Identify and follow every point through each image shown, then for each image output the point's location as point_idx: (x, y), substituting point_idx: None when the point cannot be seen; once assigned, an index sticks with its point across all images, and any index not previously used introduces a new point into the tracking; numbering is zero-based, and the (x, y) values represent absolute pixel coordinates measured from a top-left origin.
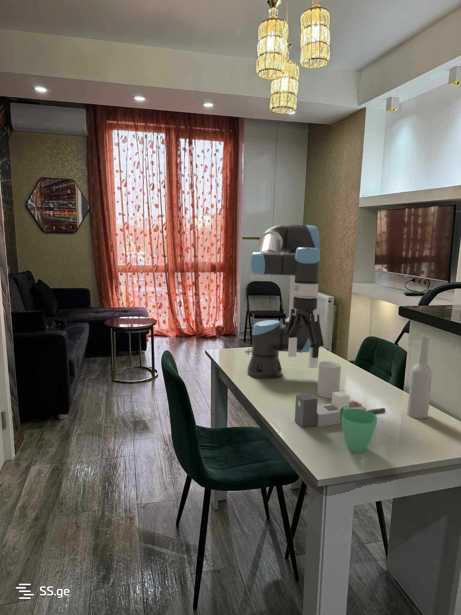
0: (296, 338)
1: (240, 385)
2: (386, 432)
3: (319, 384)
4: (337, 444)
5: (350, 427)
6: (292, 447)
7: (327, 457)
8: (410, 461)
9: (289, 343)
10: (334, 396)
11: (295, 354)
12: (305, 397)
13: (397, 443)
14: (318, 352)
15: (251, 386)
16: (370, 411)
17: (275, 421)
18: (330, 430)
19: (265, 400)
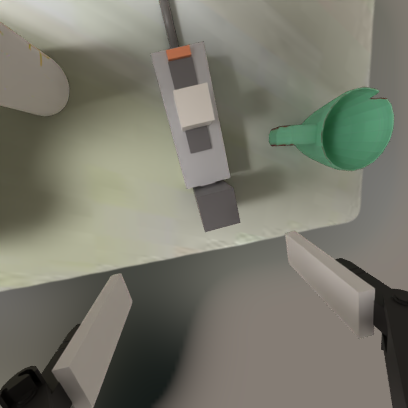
0: (73, 364)
1: (9, 286)
2: (264, 40)
3: (27, 109)
4: (289, 164)
5: (358, 160)
6: (284, 234)
7: (319, 193)
8: (364, 60)
9: (106, 365)
10: (192, 125)
11: (119, 283)
12: (223, 214)
13: (308, 44)
14: (368, 274)
15: (11, 265)
16: (172, 19)
17: (197, 243)
18: (241, 157)
19: (98, 246)
